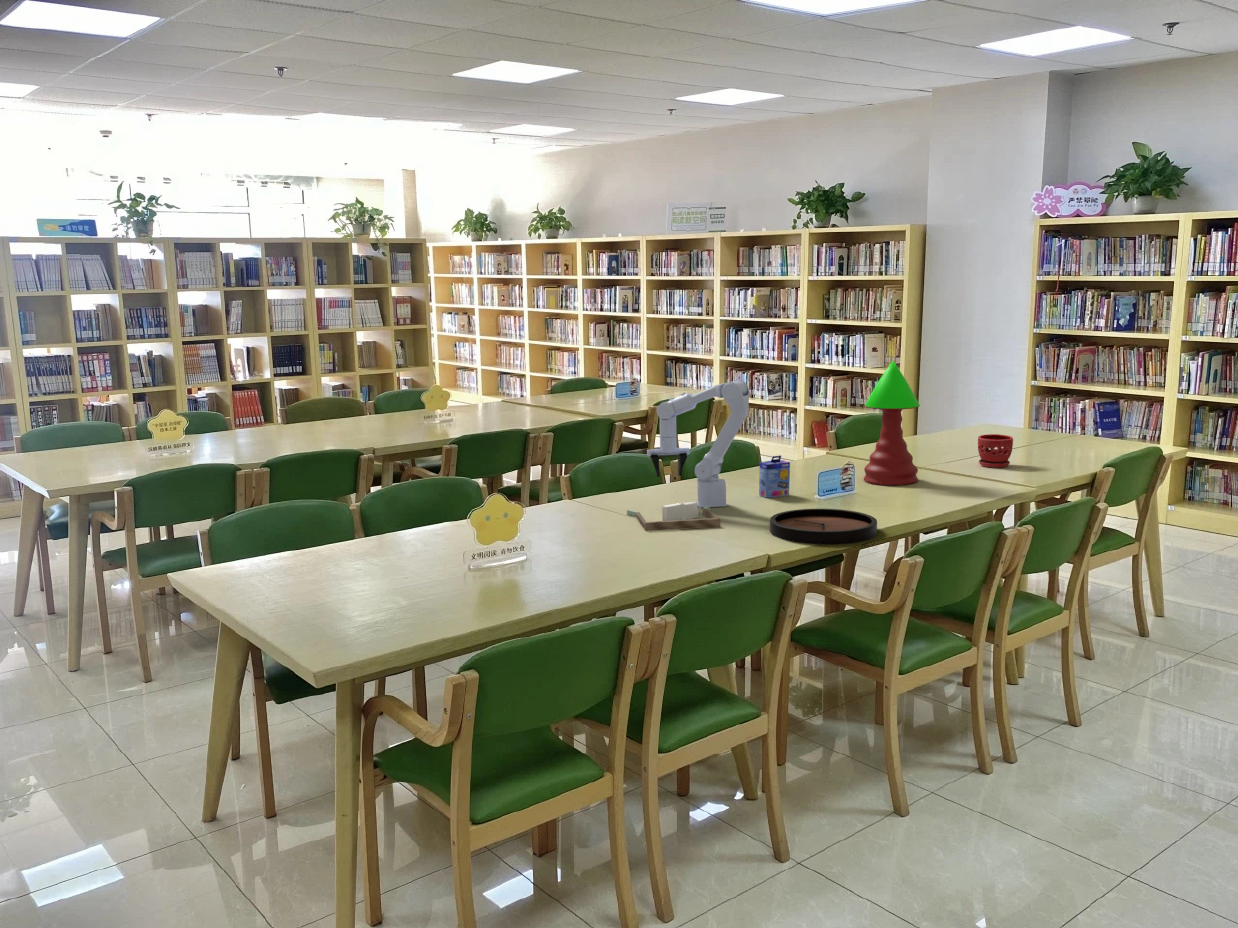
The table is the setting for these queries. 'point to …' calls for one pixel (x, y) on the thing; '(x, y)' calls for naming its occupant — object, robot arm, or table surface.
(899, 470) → the table lamp
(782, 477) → the ink cartridge box
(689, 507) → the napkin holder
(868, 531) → the wall clock
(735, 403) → the robot arm
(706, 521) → the napkin dock
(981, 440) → the plant pot
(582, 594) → the table surface
